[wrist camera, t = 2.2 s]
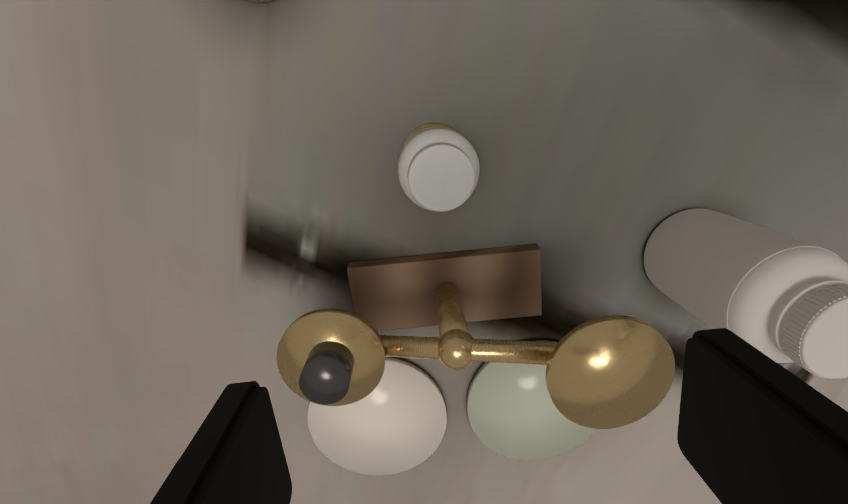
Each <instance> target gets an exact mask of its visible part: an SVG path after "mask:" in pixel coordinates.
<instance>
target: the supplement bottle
mask: <svg viewBox="0 0 848 504" xmlns="http://www.w3.org/2000/svg"><path fill="white" fill-rule="evenodd" d="M479 173H480V166H479V160H478V157H477V154H476V152H475V150H474V148H473V146H472V145H471V144H470V142H469V141H468V140H467V139H466V138H464V137H463V136H462V135H461V134H459V133H458V132H457V131H456V130H454V129H453V128H451V127H449V126H447V125H444V124H440V123H430V124H425V125H422V126H420V127H418V128H416V129H415V130H414V131H412V132H411V133H410V134H409V135H408V137H407V138H406V140H405V141H404V143H403V146H402V149H401V152H400V158H399V163H398V176H399V181H400V184H401V187H402V189H403V191H404V192H405V194H406V195H407V197H408V198H409V199H410V200H411V201H412V202H414V203H415V204H416V205H418V206H420V207H422V208H424V209H427V210H431V211H440V212H443V211H449V210H452V209H455V208H457V207H459V206H460V205H462V204H463V203H464V202H465V201H466V200H467V199H468V198H469V197H470V196H471V194H472V193H473V191H474V190H475V188H476V185H477V183H478V179H479Z"/></svg>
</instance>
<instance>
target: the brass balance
mask: <svg viewBox="0 0 848 504" xmlns="http://www.w3.org/2000/svg"><path fill="white" fill-rule="evenodd" d="M347 273H348V279H349V285H350V291H351V297H352V303H353V309H354V313H351V312H348V311H345V310H340V309H320V310H315V311H312V312H309V313H307V314H304V315H302V316H301V317H299V318H298V319H296V320H295V321H294V322H293V323H292V324H291V325H290V326H289V327H288V328H287V330H286V331H285V333H284V335H283V336H282V338H281V340H280V342H279V346H278V350H277V364H278V369H279V372H280V374H281V376H282V378H283V380H284V381H285V383H286V384H287V385H288V386H289V388H290V389H291V390H293V391H294V392H295V393H296V394H297V395H299V396H300V397H302V398H304V399H306V400H308V401H310V402H313V403H316V404H319V405H325V406H342V405H348V404H351V403H354V402H357V401H359V400H361V399H363V398H365V397H366V396H367V395H369V394H370V393H371V392H372V391H373V390H374V389H375V388H376V387H377V385H378V384H379V382H380V380H381V378H382V376H383V373H384V368H385V358H386V357H402V358H422V359H439V360H440V361H441V363H442V364H443V365H444V366H446V367H447V368H450V369H453V370H461V369H464V368H466V367H468V366H469V365H470V364H471V363H472V362H473V361H480V362H499V363H518V364H538V365H547V367H546V375H545V379H546V386H547V390H548V392H549V395H550V397H551V399H552V401H553V403H554V405H555V407H556V408H557V409H558V411H559V412H560V413H561V414H562V415H563V416H565V417H566V418H567V419H569V420H570V421H572V422H574V423H576V424H578V425H581V426H584V427H589V428H595V429H609V428H616V427H620V426H624V425H627V424H630V423H633V422H635V421H637V420H639V419H641V418H642V417H644V416H646V415H647V414H648V413H650V412H651V411H652V410H653V409H654V408H656V407H657V406H658V405H659V404H660V402H661V401H662V400H663V399H664V397H665V396H666V394H667V393H668V391H669V389H670V387H671V384H672V381H673V378H674V373H675V360H674V355H673V352H672V349H671V347H670V345H669V344H668V342H667V341H666V340H665V338H664V337H663V336H662V335H661V334H660V333H659V332H658V331H656V330H655V329H654V328H653V327H652V326H650V325H649V324H647V323H646V322H644V321H642V320H639V319H636V318H633V317H628V316H619V315H616V316H605V317H599V318H596V319H592V320H590V321H587V322H585V323H583V324H581V325H579V326H577V327H576V328H574V329H573V330H571V331H570V332H569V333H568V334H566V335H565V336H564V337H563V338H562V339H561V340H560V341H559V342H540V341H515V340H489V339H473V337H472V336H471V335H470V334H469V333H468V329H467V324H466V322H474V321H485V320H495V319H505V318H516V317H526V316H536V315H542V290H541V249H540V248H539V246H538V245H537V244H529V245H518V246H508V247H498V248H488V249H478V250H468V251H458V252H448V253H438V254H427V255H417V256H407V257H397V258H387V259H377V260H367V261H357V262H349V264H348V267H347ZM433 325H438V326H439V335H440V338H438V337H412V336H386V335H379V334H378V332H377V331H382V330H392V329H403V328H413V327H423V326H433Z"/></svg>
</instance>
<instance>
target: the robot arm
mask: <svg viewBox="0 0 848 504" xmlns="http://www.w3.org/2000/svg"><path fill="white" fill-rule="evenodd" d="M677 436H678V444H679V447H680V449H681V451H682V453H683V455H684V456H685V457H686V459H687V460H688V461H689V462H690V464H691V465H692V466H693V468H694V469H695V470H696V471H697V473H698V474H699V475H700V476H701V478H702V479H703V480H704V481H705V483H706V484H707V485H708V486H709V488H710V489H711V490H712V492H713V493H714V494H715V495H716V497H717V498H718V499H719V500H720V502H721V503H722V504H848V412H847V411H845V410H844V409H842V408H841V407H840V406H838V405H837V404H835V403H834V402H832V401H831V400H829V399H828V398H827V397H825V396H824V395H822V394H821V393H819V392H818V391H817V390H815V389H814V388H812V387H811V386H809V385H808V384H806V383H805V382H804V381H802V380H801V379H799V378H798V377H796V376H795V375H794V374H792V373H791V372H789V371H788V370H786V369H785V368H783V367H782V366H781V365H779V364H778V363H776V362H775V361H773V360H772V359H770V358H769V357H768V356H766V355H765V354H763V353H762V352H760V351H759V350H758V349H756V348H755V347H753V346H752V345H750V344H749V343H747V342H746V341H745V340H743V339H742V338H740V337H739V336H737V335H736V334H735V333H733V332H732V331H730V330H728V329H726V328H718V329H709V330H700V331H697V332H695V333H694V335H693V337H692V338H690V339H688V341H687V342H686V349H685V360H684V370H683V381H682V392H681V403H680V414H679V425H678V435H677ZM291 494H292V483H291V478H290V474H289V470H288V466H287V462H286V458H285V455H284V451H283V447H282V443H281V439H280V435H279V431H278V428H277V424H276V420H275V416H274V412H273V408H272V404H271V400H270V397H269V393H268V390H267V388H266V387H260V386H259V384H258V383H257V382H256V381H251V382H243V383H234V384H229V385H227V387H226V388H225V389H224V391H223V392H222V394H221V395H220V397H219V399H218V400H217V402H216V403H215V405H214V406H213V408H212V409H211V411H210V413H209V414H208V416H207V417H206V419H205V420H204V422H203V423H202V425H201V427H200V428H199V430H198V431H197V433H196V434H195V436H194V437H193V439H192V441H191V442H190V444H189V445H188V447H187V448H186V450H185V451H184V453H183V454H182V456H181V458H180V459H179V460H178V461H177V463H176V464H175V466H174V468H173V469H172V471H171V472H170V474H169V475H168V477H167V478H166V480H165V482H164V483H163V485H162V486H161V488H160V489H159V491H158V492H157V494H156V495H155V497H154V499H153V500H152V502H151V503H150V504H289V503H290V500H291Z"/></svg>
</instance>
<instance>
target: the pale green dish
mask: <svg viewBox="0 0 848 504" xmlns="http://www.w3.org/2000/svg"><path fill="white" fill-rule="evenodd" d="M536 341H540V342H555V341H547V340H536ZM546 367H547V365H538V364H518V363H499V362H485V363H484V364H483V366H482V367H481V368H480V369H479V370H478V372H477V373H476V375H475V376H474V378H473V380H472V382H471V384H470V387H469V390H468V395H467V411H468V417H469V421H470V424H471V427H472V429H473V431H474V433H475V435H476V436H477V437H478V439H479V440H480V441H481V442H482V443H483V444H484V445H485V446H486V447H488V448H489V449H490V450H492V451H494V452H495V453H497V454H499V455H502V456H504V457H507V458H511V459H515V460H521V461H539V460H546V459H550V458H554V457H557V456H560V455H563V454H565V453H567V452H569V451H571V450H573V449H574V448H576V447H578V446H579V445H580V444H582V443H583V442H584V441H585V440H586V439H587V438H588V437H589V436H590V435H591V434H592V433H593V432H594V431H595V428H589V427H584V426H581V425H578V424H576V423H574V422H572V421H570V420H569V419H567V418H566V417H565V416H563V415H562V414H561V413H560V412H559V411H558V409H557V408H556V407H555V405H554V403H553V401H552V399H551V397H550V395H549V392H548V390H547V386H546V379H545V375H546Z"/></svg>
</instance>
